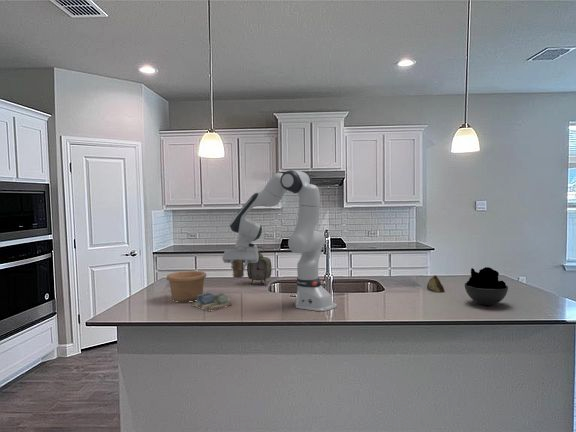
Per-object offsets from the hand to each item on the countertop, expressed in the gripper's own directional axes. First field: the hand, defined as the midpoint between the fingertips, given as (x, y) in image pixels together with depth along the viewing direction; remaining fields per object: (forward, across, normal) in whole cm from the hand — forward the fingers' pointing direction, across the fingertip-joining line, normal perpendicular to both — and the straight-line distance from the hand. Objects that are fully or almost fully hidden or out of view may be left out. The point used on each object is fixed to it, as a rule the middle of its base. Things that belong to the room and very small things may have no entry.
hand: (237, 268), depth 220 cm
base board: (+19, -12, +8) cm, 24 cm away
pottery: (+11, -32, +16) cm, 38 cm away
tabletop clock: (-19, -1, +46) cm, 50 cm away
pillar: (+3, 0, +4) cm, 5 cm away
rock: (-14, +109, +43) cm, 118 cm away
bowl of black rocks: (+6, +129, +22) cm, 131 cm away
